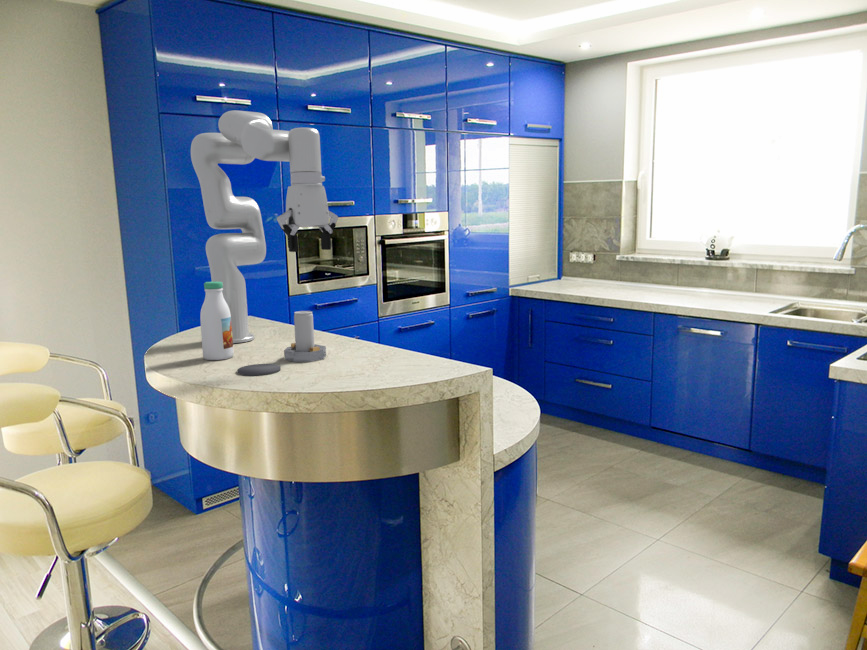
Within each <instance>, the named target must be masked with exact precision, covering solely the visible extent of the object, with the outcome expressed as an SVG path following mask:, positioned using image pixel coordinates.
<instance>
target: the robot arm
mask: <svg viewBox="0 0 867 650" xmlns="http://www.w3.org/2000/svg"><path fill="white" fill-rule="evenodd" d="M217 123H218V130H219V132H204V133H199V134H197V135H195V136H194V137H193V139H192V141H191V145H190V159H191V163H192V166H193V169H194V171H195V174H196V176H197V179H198V182H199V185H200V191H201V198H202V202H203V209H204V214H205V219H206V222H207V224H208V226H209V227H210V228H211V229H214V230H241V232H227V233H218V234H214V235H212V236H210V237H209V238H207V241H206V243H205V253H206V257H207V262H208V266H209V272H210V277H211V282H215V281H219V282H222V283H223V290H222V294H223V297H224V299H225V301H226V303H227V305H228V307H229V310H230V314H231V324H232V337H233V344H240V343H241V344H242V343H246V342H249V341H253V340H254V339H255V334H254V333H252V332H251V333H250V331H249V317H248V299H247V288H246V287H247V286H246V280H245V279H246V278H245V276H244V275H243V274H242V272H241V271H240V270H239V268H238V266H251V265H257V264H261V263H262V262H264V260H265V259H266V255H267V243H266V239H265V238H266V237H265V230H264V226H263V219H262V213H261V209H260V207H259V204H258V203H257V201H255V199H253V198H251V197H250V196H249V197H248V196H235V195H234V193H233V190H232V183H231V181H230V178H229V177H228V175H227V173H226V172H225V171H224V170H223V169H222V168H221V167H220V166H219V165H218V164H224V165H225V164H226V165H247V164H251V163H252V162H253V161H254V160H255V159H258V160H260V161H266V162H286V163H287V162H289V173H290V186H289V185H288V187H287V191H286V192H287V193H286V198H285V212H283V213H282V214H279V215H278V216H277V217H276V221H277V222H278V225H279V226H280V229H281V230H282V231H283V232H284V234H285V236H287V248H288V252H290V253H298V252H299V238H298V237H299V236H298V235H297V234H296V233H297V232H298V230H299V229H300V228H311V227H313V228H314V227H315V228H316V227H317V228H318V229H319V230H320V231H321V232H322V233H321V234H320V248H321V250H325V251H328V250H329V251H331V249H332V248H331V247H332V246H331V245H332V240H331V239H332V238H331V234H333V231H334V229H335V228H336V226H337V222H338V220H339V216H338V215H337V214H335V213H334V212H332V211H330V210H329V204H328V198H327V193H326V188H325V186H324V185H323V182H325V181H326V177H325V175H324V176H323V174H322V154H321V136H320V132H319V130H317V129H316V128H313V127H294V128H291V129H290V130H285V129H284V130H283V129H282V130H281V129H274V128H273V123H272V120H271V119H270V118H269V116H268V115H266V114H265V113H262V112H257V111H248V110H247V111H246V110H235V109H234V110H228V111H226V112H224V113H222V115H221V116H220V117H219V119H218V122H217Z"/></svg>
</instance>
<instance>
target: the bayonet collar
mask: <svg viewBox="0 0 867 650" xmlns="http://www.w3.org/2000/svg"><path fill="white" fill-rule="evenodd" d="M283 354H284V355H283V356H284V357H283V358H284V361H288V362H292V363H306V362H309V363H310V362H316V361H321V360H324V359H325V358H326V357H327V347H326V345H321V344H315V343H314V347H310V351H296V344H295V342H293V343H292V342H291V343H290V346H288V347H287V346H286V348H285V349H284V350H283Z"/></svg>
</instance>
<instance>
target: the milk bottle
mask: <svg viewBox="0 0 867 650" xmlns="http://www.w3.org/2000/svg"><path fill="white" fill-rule="evenodd" d="M203 287H204V288H203V289H204V292H205V297H204V300H203V303H202V305H201V309H200V313H199V314H200V334H201V335H200V337H201V346H202V347H201V348H202V349H201V350H202V357H203V359H204V360H207V361H220V360H228V359H230V358H233V357H234V354H235V353H234V343H233V337H232V324H231V314H230V310H229V307H228V305H227V303H226V301H225V299H224V297H223V294H222V290H223V283H222V282H219V281H215V282H212V281H205V282H204V283H203Z"/></svg>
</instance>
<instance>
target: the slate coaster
mask: <svg viewBox="0 0 867 650" xmlns="http://www.w3.org/2000/svg"><path fill="white" fill-rule="evenodd" d="M280 371H281V366H280V365H279V364H275V363H256V364H255V363H254V364H249V365H244V366H240V367H239V368H237V371H236V372H237V374H238V375H241V376H245V377H247V376H249V377H255V376H256V377H257V376H267V375H272V374H276V373H278V372H280Z"/></svg>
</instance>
